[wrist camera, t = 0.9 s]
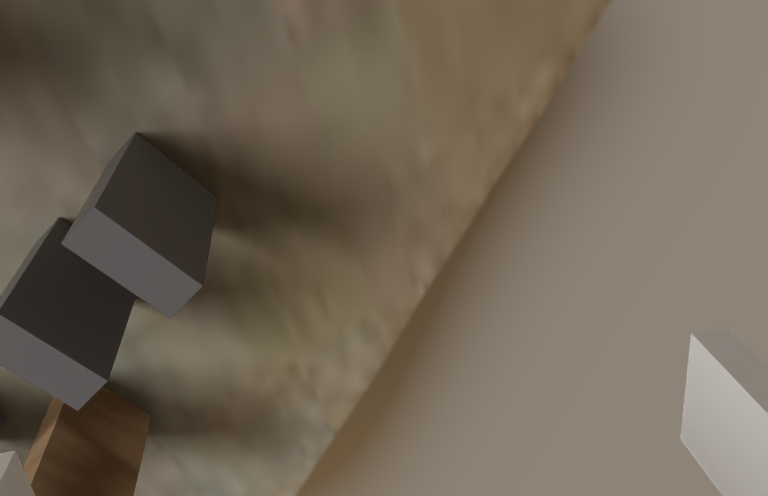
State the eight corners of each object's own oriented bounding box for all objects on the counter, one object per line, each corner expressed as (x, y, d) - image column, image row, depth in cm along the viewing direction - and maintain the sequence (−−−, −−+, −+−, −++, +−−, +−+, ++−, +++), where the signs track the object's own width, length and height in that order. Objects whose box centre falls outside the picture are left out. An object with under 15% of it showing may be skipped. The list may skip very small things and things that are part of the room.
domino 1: (34, 244, 36) (-33, 346, 28) (58, 217, 35) (-3, 313, 27) (118, 301, 38) (77, 410, 30) (142, 276, 37) (107, 381, 30)
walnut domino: (54, 392, 40) (1, 518, 32) (76, 370, 39) (28, 491, 32) (129, 436, 42) (96, 564, 34) (151, 415, 42) (123, 540, 34)
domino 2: (109, 161, 35) (60, 243, 27) (135, 132, 34) (94, 207, 26) (192, 224, 37) (170, 318, 29) (218, 198, 36) (202, 286, 28)
